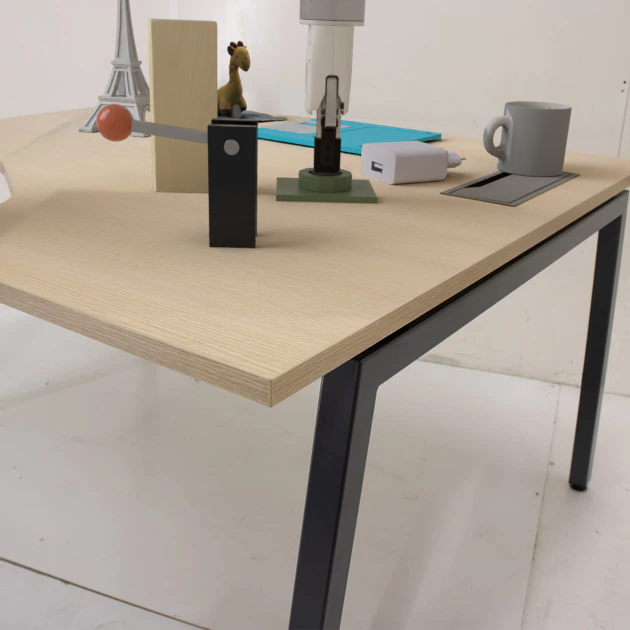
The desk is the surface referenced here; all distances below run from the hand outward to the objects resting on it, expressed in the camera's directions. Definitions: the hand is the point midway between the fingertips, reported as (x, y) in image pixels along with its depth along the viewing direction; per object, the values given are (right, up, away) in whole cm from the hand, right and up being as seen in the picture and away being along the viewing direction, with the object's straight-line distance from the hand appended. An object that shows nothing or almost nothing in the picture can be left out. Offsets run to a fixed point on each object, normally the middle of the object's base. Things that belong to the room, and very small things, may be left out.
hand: (326, 170), depth 98 cm
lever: (-15, -2, -23) cm, 28 cm away
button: (0, -2, +1) cm, 2 cm away
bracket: (-9, -12, -19) cm, 25 cm away
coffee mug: (+31, +5, +27) cm, 41 cm away
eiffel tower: (-36, +17, +52) cm, 66 cm away
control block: (0, -4, +2) cm, 4 cm away
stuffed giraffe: (-19, +24, +72) cm, 79 cm away
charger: (+14, +2, +20) cm, 25 cm away
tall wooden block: (-19, -2, +6) cm, 20 cm away
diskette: (+4, +15, +51) cm, 53 cm away
